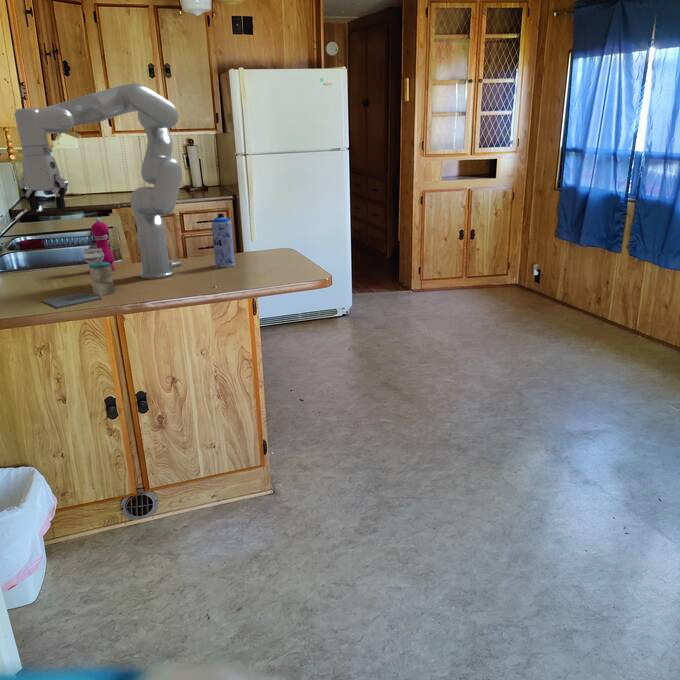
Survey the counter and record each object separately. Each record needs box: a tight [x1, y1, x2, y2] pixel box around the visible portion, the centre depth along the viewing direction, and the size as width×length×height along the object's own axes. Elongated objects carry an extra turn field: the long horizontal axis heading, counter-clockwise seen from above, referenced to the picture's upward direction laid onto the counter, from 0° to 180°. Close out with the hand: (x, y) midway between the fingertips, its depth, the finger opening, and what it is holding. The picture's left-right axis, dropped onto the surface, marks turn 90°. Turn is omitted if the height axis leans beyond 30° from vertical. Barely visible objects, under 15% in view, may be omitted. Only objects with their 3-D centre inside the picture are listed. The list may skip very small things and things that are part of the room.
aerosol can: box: [211, 213, 236, 268], centre depth 233 cm, size 8×8×20 cm
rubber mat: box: [42, 291, 103, 309], centre depth 192 cm, size 14×12×1 cm
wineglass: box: [82, 247, 104, 286], centre depth 211 cm, size 7×7×12 cm
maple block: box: [88, 262, 116, 298], centre depth 198 cm, size 5×5×10 cm
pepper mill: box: [90, 217, 115, 272], centre depth 232 cm, size 7×7×20 cm
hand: (48, 209), depth 188 cm, fingers open, 9 cm apart
